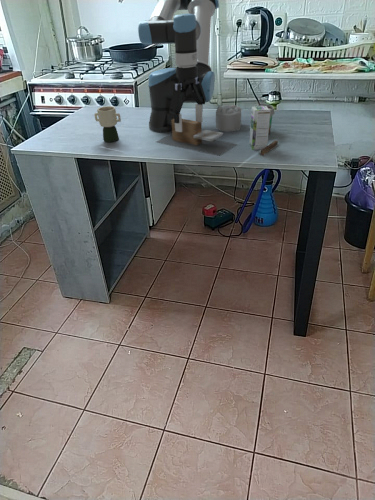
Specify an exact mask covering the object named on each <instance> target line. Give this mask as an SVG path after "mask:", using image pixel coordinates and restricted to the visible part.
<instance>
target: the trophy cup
mask: <svg viewBox="0 0 375 500" xmlns="http://www.w3.org/2000/svg"><path fill="white" fill-rule="evenodd" d="M93 115H94V120H95V122H98V123H99V125H100V127H101V128H102V137H103V138H102V140H103V141H104V142H105V143H113V142H116V141H118V140H119V139H120V137H119V133H118V131H117V127H116V125H118V123H121V121H122V119H121V114H120V113H117V110H116V107H115V106H113V105H112V106H111V105H109V106H108V105H107V106H101V107H98V108H96V112H94V114H93Z"/></svg>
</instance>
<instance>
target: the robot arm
mask: <svg viewBox="0 0 375 500" xmlns="http://www.w3.org/2000/svg"><path fill="white" fill-rule="evenodd" d="M219 1H220V0H157V3H156V5H155V7H154V10H153V12H152V13H151V16H150V18H149V19H148V20H141V21H139V22H138V27H137V31H138V33H137V34H138V39H139V41H140V43H141V44H142V45H150V46H152V45H167V44H173V45H174V56H175V66H176V67H167V68H161V69H157V70H155V71H152V72H150V74H149V75H148V90H149V91H148V92H149V99H150V100H149V101H150V108H151V109H150V111H151V112H150V117H149V122H148V128H149V130H150V131H152V132H155V133H172V122H171V120H172V119H174V123H175V131H177V132H182V119H183V117H182V113H181V111H182V108H183V105H184V104H192V103H193V104H195V103H196V104H195V121H198V122H201V123H203V121H204V120H203V119H204V118H203V117H204V115H203V111H204V110H203V109H204V108H203V105H206V103H209V102H210V101H211V100H212V98H213V94H214V91H215V80H216V78H215V77H216V74H215V72H214V71H212V67H211V66H210V65H209V58H210V57H209V55H210V42H211V41H210V40H211V23H212V17H213V16H214V14H215V13H216V12H215V11H216V10H217V9H219V8H220V2H219ZM178 11H187V12H188V13H180V14H179V13H178V14H175V13H177V12H178Z"/></svg>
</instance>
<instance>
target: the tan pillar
mask: <svg viewBox="0 0 375 500" xmlns="http://www.w3.org/2000/svg"><path fill="white" fill-rule="evenodd" d="M171 122H172V132H171V134H172V136H173V140H175V141H180V142H185V143H190V144H195V145H199V144H200V143H202V140H207V141H213V140H217V139H218V138H220V137H222V136H223V135H224V132H223V131H221V132H220V131H215V130H210V129H204V130H202V122H198V121H196V120H191V119H184V118H182V132H177V131H175V123H174V119H172V120H171Z"/></svg>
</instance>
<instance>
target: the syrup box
mask: <svg viewBox="0 0 375 500" xmlns="http://www.w3.org/2000/svg"><path fill="white" fill-rule="evenodd" d="M250 112H251V113H250V114H251V115H250V128H249V129H250V130H249V144H248V145H249V147H250V148H251V150H252V151H254V150H259V151H261V150H262V149H264V148H265V147H267V146H268V145H269V143H268V142H269V135H268V133H269V122H270V110H269V108H268V107H267V106H260V105H256V106H255V105H254V106H251V111H250Z"/></svg>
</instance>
